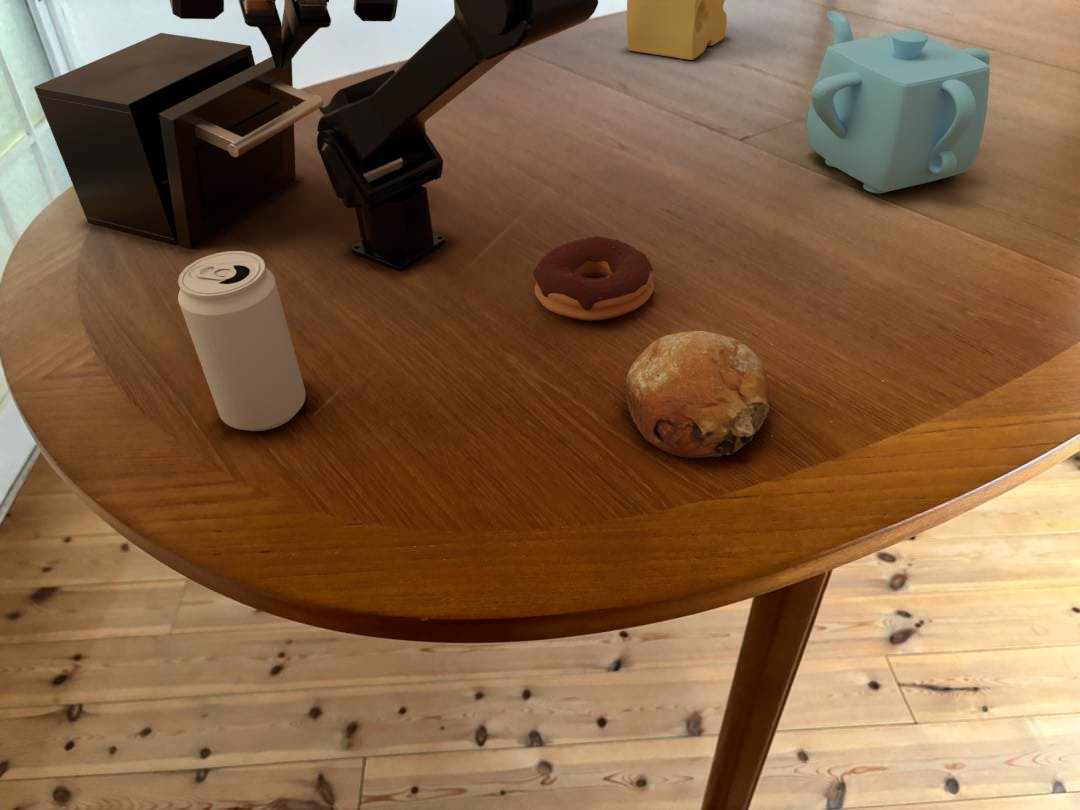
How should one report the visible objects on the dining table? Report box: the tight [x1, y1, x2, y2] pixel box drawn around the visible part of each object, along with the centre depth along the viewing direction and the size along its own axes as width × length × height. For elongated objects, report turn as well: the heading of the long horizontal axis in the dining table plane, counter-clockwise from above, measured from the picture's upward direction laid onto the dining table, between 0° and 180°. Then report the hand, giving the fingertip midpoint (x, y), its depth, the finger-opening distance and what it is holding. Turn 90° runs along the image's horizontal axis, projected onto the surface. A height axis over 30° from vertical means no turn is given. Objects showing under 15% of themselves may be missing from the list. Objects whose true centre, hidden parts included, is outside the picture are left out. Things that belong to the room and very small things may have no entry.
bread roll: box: [625, 330, 770, 459], centre depth 64 cm, size 10×10×8 cm
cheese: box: [626, 0, 728, 61], centre depth 122 cm, size 10×11×10 cm
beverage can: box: [177, 250, 307, 432], centre depth 64 cm, size 6×6×12 cm
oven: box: [33, 32, 256, 246], centre depth 91 cm, size 12×16×14 cm
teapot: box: [805, 10, 991, 194], centre depth 90 cm, size 18×16×14 cm
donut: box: [533, 235, 655, 322], centre depth 77 cm, size 10×10×4 cm
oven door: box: [159, 56, 324, 250], centre depth 88 cm, size 7×16×14 cm, turn 153°
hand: (279, 65), depth 85 cm, fingers closed
